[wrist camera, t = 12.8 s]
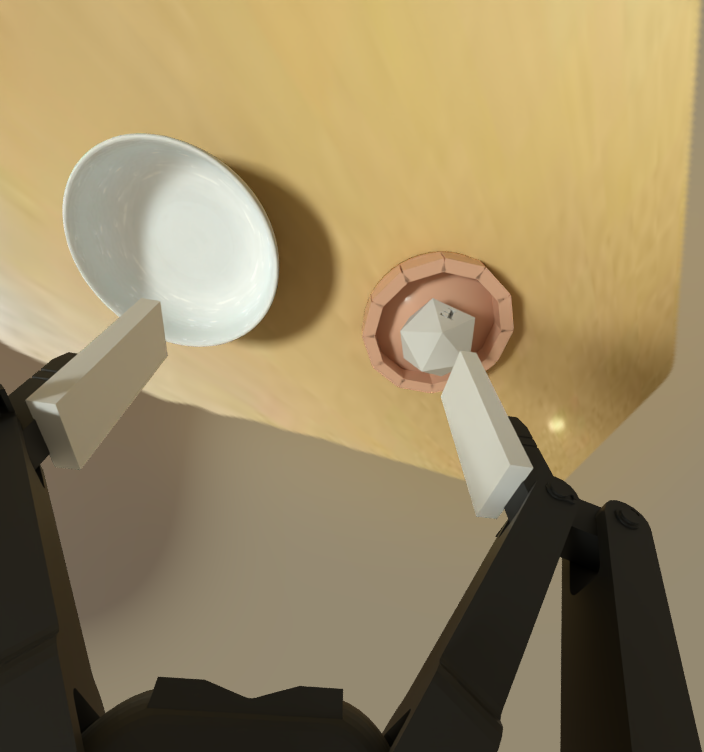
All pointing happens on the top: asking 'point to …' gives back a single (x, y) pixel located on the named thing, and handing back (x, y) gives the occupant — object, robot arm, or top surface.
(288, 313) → the top surface
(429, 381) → the tray
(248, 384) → the top surface
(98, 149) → the serving bowl
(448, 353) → the die
